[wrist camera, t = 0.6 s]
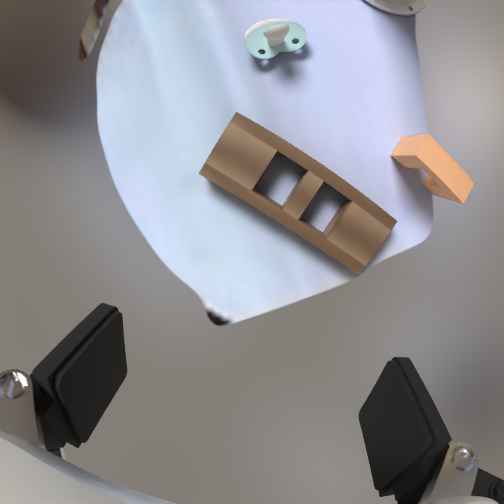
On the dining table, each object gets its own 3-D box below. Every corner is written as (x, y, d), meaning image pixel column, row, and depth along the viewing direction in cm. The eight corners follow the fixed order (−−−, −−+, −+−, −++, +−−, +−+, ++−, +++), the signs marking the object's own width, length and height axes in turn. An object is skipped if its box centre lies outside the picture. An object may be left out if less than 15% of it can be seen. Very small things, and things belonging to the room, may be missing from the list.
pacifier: (236, 32, 28) (254, 67, 29) (228, 9, 22) (250, 47, 23) (289, 15, 26) (310, 49, 28) (291, -10, 20) (316, 27, 22)
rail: (239, 116, 31) (236, 111, 28) (388, 216, 33) (397, 221, 30) (205, 172, 33) (198, 173, 30) (352, 266, 36) (358, 275, 33)
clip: (401, 137, 30) (428, 133, 23) (444, 177, 31) (474, 183, 24) (390, 155, 31) (415, 155, 24) (434, 195, 32) (463, 203, 25)
